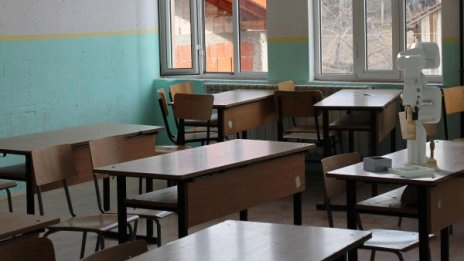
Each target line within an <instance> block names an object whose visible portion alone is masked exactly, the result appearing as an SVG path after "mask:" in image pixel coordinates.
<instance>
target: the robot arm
mask: <svg viewBox="0 0 464 261" xmlns="http://www.w3.org/2000/svg"><path fill="white" fill-rule="evenodd" d="M395 66H396V69H397V70H399V71H402V72H404V74H403V75H404V78H403V79H404V82H403V83H404V85H403V90H402V91H403V92H402V103H401V105H402V106H403V107H404V112H405V120H407V106H412V107H413V112H412V120H416V140H407V139H406V140H407V143H406V146H407V147H406V148H407V149H406V150H407V151H406V152H407V154H406V156H407V158H406V161H404V163H403V165H404V166H405V167H406V166H421V167H426V165H427V160H429V159H430V156H427V131H426V128H425V127H424V126H423V125H422V124H437V123H439V122H440V120H441V117H442V91H441V88H440V87H438V86H435V85H432V86H431V85H428V77H427V76H426V74H425V73H423V71H422V70H436V69H437V70H438V69H439V67H440V66H441V54H440V47H439V45H438V43H436V42H434V41H417V42H414V43H412V44H411V45H410V47H409V48H408V49H405V50H402V51H400V52H399V53H398V54H397V56H396V59H395ZM415 107H416V108H415Z"/></svg>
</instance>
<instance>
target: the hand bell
mask: <svg viewBox="0 0 464 261" xmlns="http://www.w3.org/2000/svg"><path fill="white" fill-rule="evenodd" d="M435 149H436V142H435V139H434V138H430V141H429V151H430V156H429V157H430V159H429V160H427V165H426V166H425V167H426V168H430V169H435V173H436V172H440V171H441V169H440V167H439V166H438V163H437V162H438V161H437V159H435V157H434V156H435V154H434V153H435V152H434V151H435Z"/></svg>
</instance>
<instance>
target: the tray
mask: <svg viewBox="0 0 464 261" xmlns="http://www.w3.org/2000/svg"><path fill="white" fill-rule="evenodd" d="M387 173H390V174H394V175H399V176H398V177H399V178H403V179H411V178H412V177H413V178H422V177H434V176H435V175H436V174H435V173H436V172H435V169H430V168H426V166H424V167H421V166H406V165H405V166H397V167H395V166H394V167H392V168H388V172H387ZM433 175H434V176H433ZM413 178H412V179H413Z"/></svg>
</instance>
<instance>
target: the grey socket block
mask: <svg viewBox="0 0 464 261" xmlns="http://www.w3.org/2000/svg"><path fill="white" fill-rule="evenodd" d="M362 160H363V164H362V166H363V168H362V169H363V171H366V172H371V173H385V172H387V173H389V172H388V168H393V158H390V157H389V158H388V157H384V156H371V157H370V156H369V157H363V158H362Z"/></svg>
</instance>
